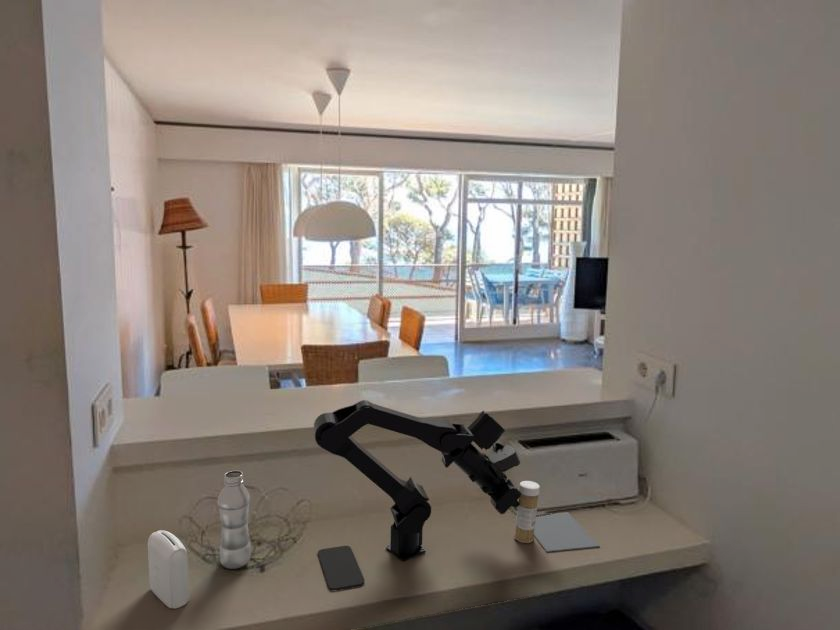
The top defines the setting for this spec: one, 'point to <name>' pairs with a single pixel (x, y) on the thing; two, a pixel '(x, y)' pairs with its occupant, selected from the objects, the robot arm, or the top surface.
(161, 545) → the photo printer
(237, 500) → the plastic bottle
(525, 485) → the sprinkles bottle
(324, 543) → the top surface
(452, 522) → the top surface
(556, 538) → the mat
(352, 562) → the phone
